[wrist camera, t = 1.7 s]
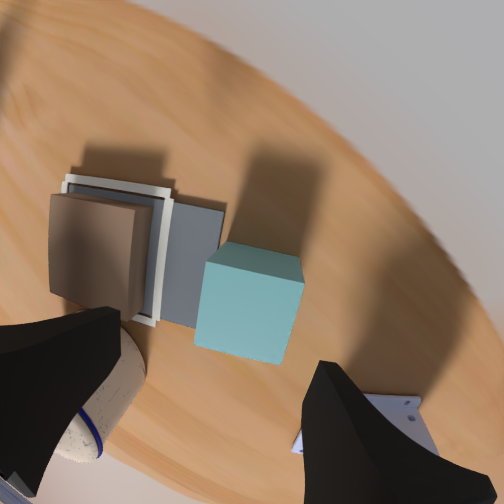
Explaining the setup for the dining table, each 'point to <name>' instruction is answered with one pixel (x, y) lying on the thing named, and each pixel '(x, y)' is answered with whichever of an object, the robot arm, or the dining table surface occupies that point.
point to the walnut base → (99, 251)
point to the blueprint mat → (166, 247)
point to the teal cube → (249, 302)
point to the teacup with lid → (104, 406)
